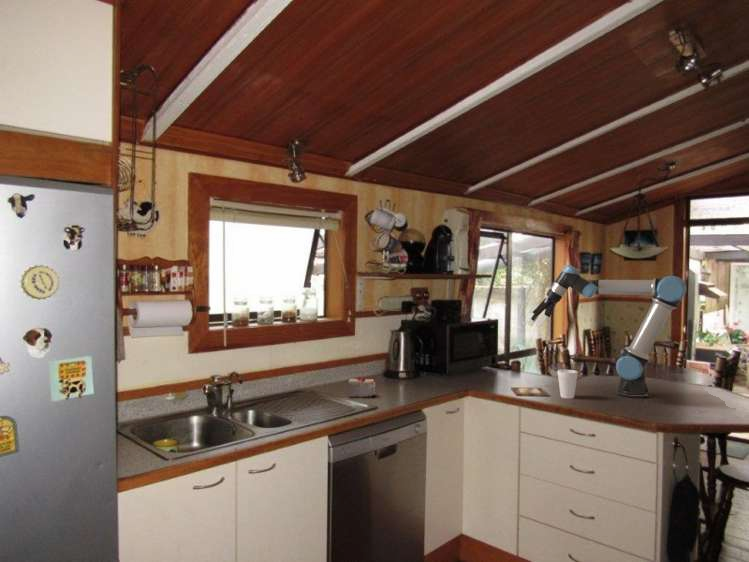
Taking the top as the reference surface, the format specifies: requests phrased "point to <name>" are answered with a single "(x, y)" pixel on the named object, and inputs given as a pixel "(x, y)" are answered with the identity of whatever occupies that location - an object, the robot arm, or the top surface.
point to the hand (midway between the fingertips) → (534, 325)
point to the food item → (361, 387)
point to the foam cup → (567, 383)
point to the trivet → (529, 392)
